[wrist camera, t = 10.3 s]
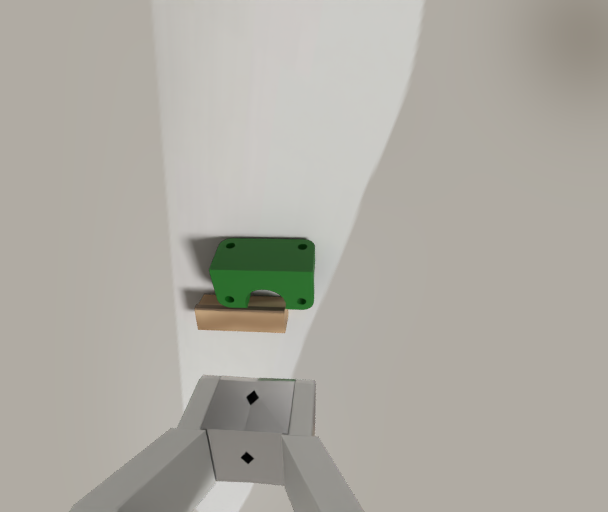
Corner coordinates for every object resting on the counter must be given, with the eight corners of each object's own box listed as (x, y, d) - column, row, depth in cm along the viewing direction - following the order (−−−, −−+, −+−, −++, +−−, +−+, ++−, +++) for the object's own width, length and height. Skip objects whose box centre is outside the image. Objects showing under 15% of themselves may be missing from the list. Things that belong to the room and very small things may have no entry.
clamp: (249, 257, 48) (207, 302, 42) (243, 221, 44) (196, 265, 38) (330, 284, 43) (295, 338, 37) (331, 246, 40) (292, 300, 33)
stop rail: (203, 292, 46) (194, 308, 42) (287, 295, 45) (284, 311, 42) (207, 313, 47) (198, 329, 44) (288, 316, 46) (285, 333, 43)
